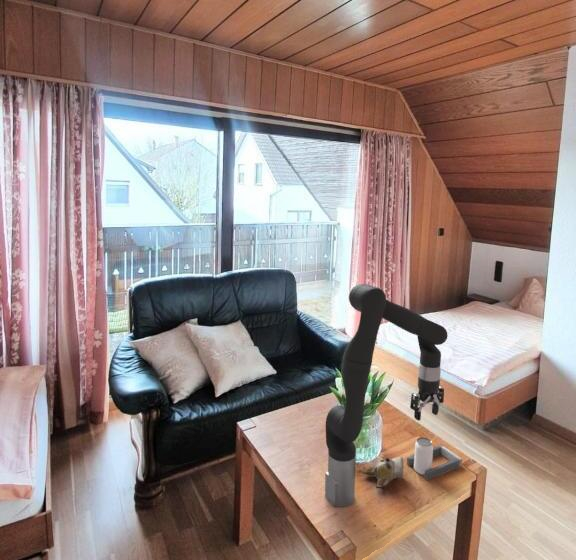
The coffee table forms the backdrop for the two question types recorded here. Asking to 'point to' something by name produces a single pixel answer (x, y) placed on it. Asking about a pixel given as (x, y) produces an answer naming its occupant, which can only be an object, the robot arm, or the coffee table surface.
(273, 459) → the coffee table surface
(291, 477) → the coffee table surface
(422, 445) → the can
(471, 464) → the coffee table surface
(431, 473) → the frame
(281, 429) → the coffee table surface
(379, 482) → the ceramic sculpture
